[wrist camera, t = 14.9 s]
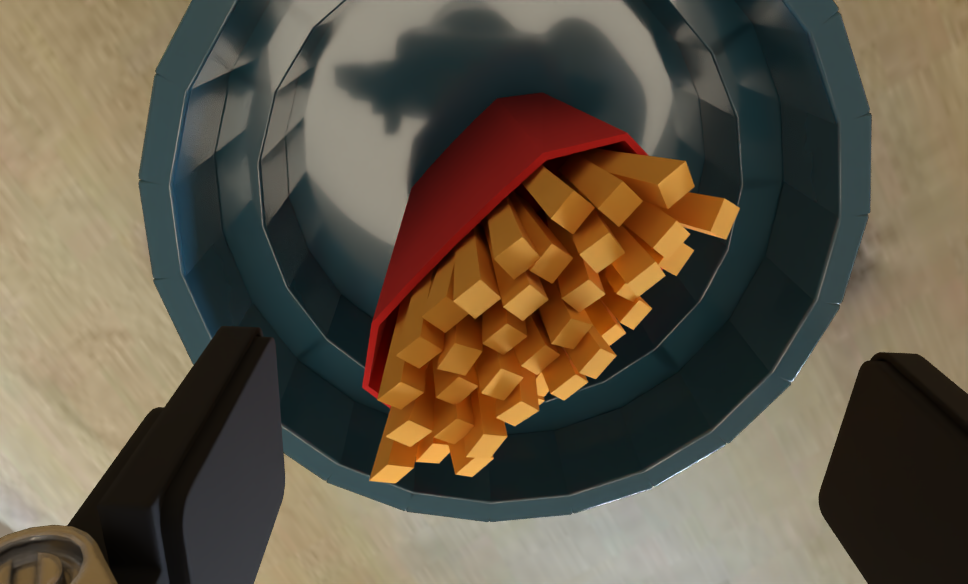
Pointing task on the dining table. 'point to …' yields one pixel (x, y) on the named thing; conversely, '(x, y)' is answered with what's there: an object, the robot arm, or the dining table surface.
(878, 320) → the dining table surface
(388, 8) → the bowl
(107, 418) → the dining table surface
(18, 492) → the dining table surface
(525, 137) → the french fries
